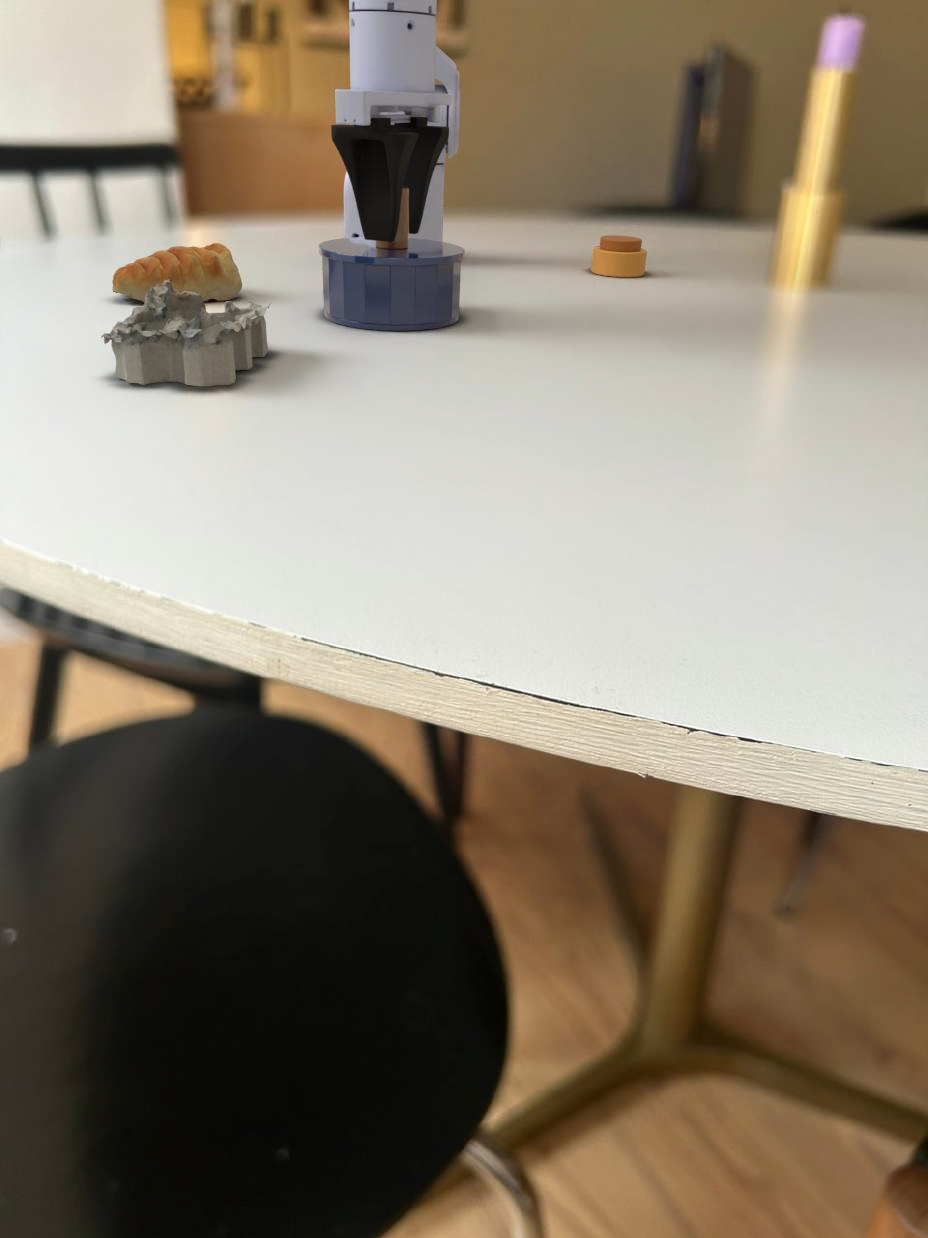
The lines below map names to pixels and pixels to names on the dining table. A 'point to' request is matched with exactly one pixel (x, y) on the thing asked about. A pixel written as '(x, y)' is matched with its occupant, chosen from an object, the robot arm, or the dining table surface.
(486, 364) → the dining table surface
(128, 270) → the pastry
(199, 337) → the egg carton
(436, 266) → the pot
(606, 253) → the stepped round knob
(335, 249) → the lid
